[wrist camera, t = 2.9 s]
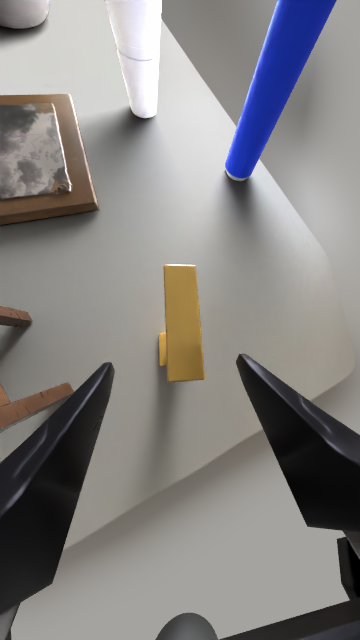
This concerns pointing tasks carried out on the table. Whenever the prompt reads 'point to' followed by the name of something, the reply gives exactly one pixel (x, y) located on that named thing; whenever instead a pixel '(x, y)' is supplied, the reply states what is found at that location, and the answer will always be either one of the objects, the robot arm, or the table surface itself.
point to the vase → (23, 13)
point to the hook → (181, 326)
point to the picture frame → (42, 159)
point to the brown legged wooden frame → (9, 414)
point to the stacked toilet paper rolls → (138, 50)
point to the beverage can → (275, 78)
